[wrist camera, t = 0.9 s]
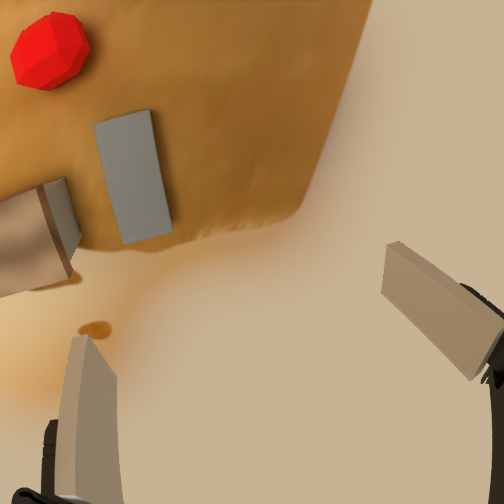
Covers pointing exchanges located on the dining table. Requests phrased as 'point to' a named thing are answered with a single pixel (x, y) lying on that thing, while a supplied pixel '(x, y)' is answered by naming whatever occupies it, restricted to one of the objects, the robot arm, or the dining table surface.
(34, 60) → the ball
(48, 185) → the open box
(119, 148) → the block
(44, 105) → the dining table surface
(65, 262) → the lid
